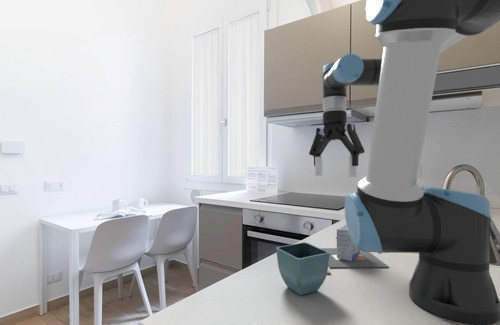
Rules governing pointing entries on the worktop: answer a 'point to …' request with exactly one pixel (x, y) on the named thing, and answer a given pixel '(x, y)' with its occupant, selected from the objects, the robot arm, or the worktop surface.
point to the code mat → (359, 262)
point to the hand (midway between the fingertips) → (334, 176)
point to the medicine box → (346, 245)
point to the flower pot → (302, 266)
